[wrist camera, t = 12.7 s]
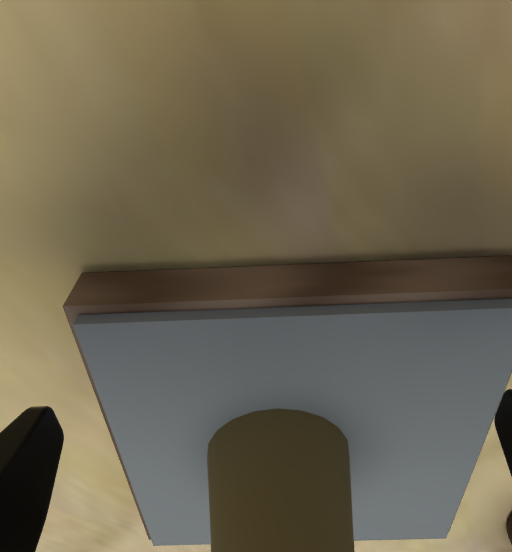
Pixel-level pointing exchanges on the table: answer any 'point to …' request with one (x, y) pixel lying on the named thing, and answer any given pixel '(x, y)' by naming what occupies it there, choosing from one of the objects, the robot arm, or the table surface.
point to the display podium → (301, 376)
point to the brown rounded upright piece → (280, 484)
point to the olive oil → (510, 528)
